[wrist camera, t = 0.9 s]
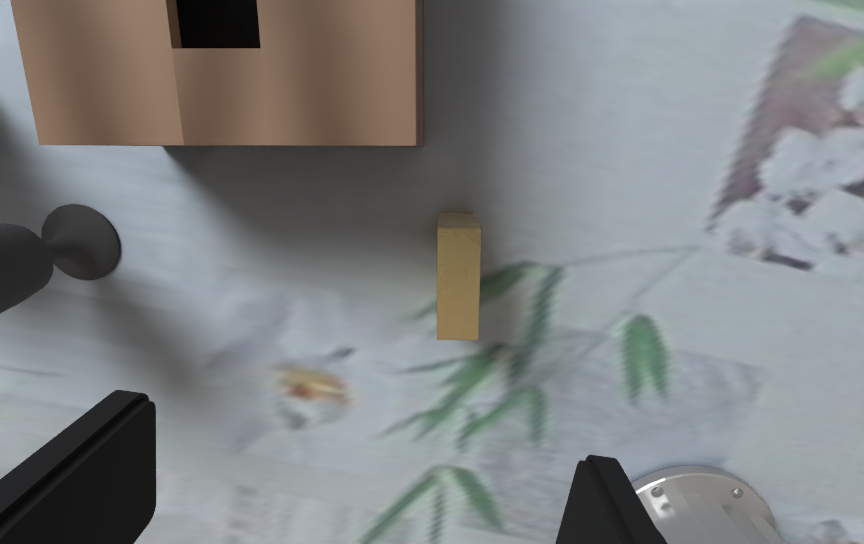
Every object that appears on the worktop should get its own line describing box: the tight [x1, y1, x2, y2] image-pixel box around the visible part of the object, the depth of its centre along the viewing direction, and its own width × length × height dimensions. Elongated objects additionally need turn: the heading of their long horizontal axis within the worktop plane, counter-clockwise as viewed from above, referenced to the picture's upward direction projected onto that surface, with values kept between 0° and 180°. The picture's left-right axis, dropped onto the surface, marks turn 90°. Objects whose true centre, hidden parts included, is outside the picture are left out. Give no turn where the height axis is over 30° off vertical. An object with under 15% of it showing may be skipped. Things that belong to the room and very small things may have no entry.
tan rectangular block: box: [437, 213, 481, 340], centre depth 27 cm, size 2×6×6 cm, turn 0°
